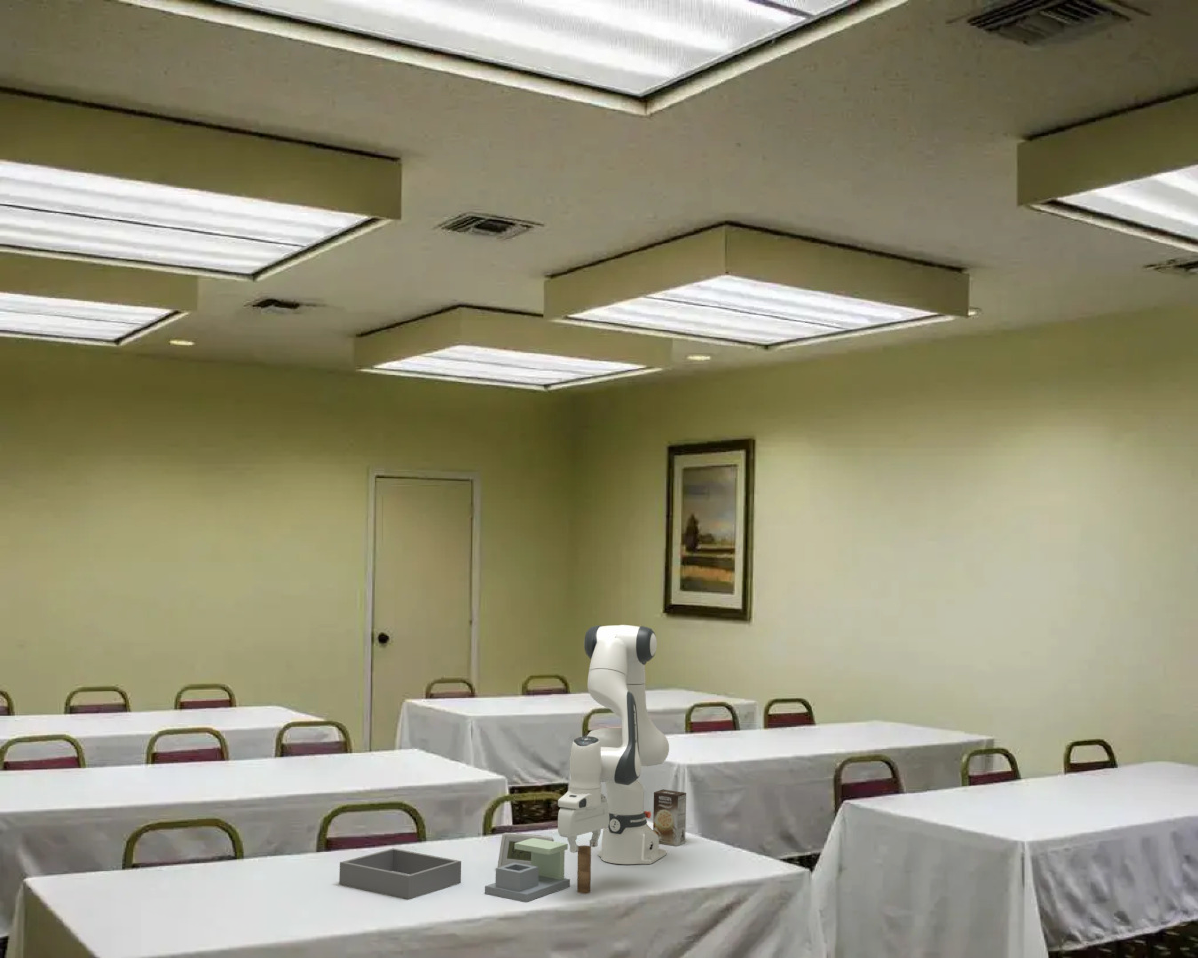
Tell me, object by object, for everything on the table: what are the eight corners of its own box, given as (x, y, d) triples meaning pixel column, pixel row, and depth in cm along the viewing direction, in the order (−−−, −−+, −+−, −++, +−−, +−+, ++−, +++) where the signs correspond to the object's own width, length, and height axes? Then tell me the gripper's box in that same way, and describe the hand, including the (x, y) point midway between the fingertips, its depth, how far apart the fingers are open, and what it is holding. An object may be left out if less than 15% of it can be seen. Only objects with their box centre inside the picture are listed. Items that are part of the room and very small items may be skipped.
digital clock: (494, 871, 370) (494, 834, 370) (511, 865, 378) (512, 829, 378) (541, 879, 362) (542, 841, 362) (558, 873, 370) (559, 835, 370)
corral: (392, 869, 371) (393, 848, 371) (460, 882, 357) (461, 860, 357) (339, 884, 353) (339, 862, 353) (408, 899, 339) (409, 876, 339)
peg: (582, 889, 352) (582, 844, 353) (592, 891, 350) (593, 846, 351) (574, 891, 349) (575, 847, 350) (585, 893, 347) (586, 848, 348)
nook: (529, 878, 362) (530, 837, 363) (569, 886, 355) (570, 844, 355) (484, 893, 346) (485, 850, 347) (526, 901, 338) (527, 857, 339)
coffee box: (651, 842, 411) (652, 791, 412) (661, 838, 416) (662, 788, 417) (676, 846, 406) (677, 795, 407) (686, 842, 411) (687, 792, 412)
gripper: (596, 791, 361) (595, 841, 360) (554, 801, 344) (553, 853, 343) (615, 794, 358) (614, 844, 357) (573, 803, 341) (572, 856, 340)
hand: (584, 849), depth 350 cm, fingers open, 8 cm apart
